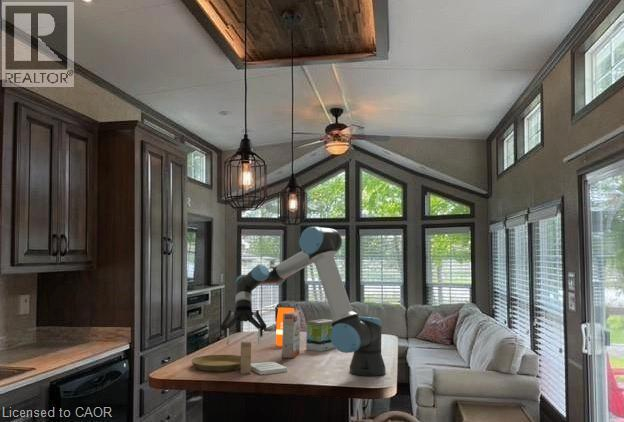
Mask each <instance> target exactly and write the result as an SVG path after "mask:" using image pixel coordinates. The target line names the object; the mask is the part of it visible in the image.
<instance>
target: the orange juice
mask: <svg viewBox="0 0 624 422" xmlns="http://www.w3.org/2000/svg"><path fill="white" fill-rule="evenodd" d="M289 311H295V308H294V307H278V310H277V316H276V331H275V333H276V335H275V338H276V339H275V340H276V341H275V345H276V346H279V347H282V339H283V314H285V313H287V312H289Z"/></svg>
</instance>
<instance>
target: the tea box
mask: <svg viewBox="0 0 624 422" xmlns="http://www.w3.org/2000/svg"><path fill="white" fill-rule="evenodd" d="M331 322H332V319H326V318H322V319H321V318H320V319H315V320H314V319H313V320H307V321H306V339H305V341H306V342H305V349H306V350H309V351H313V352H323V351H326V350H327V351H328V350H333V349H336V348H335V347H334V346H333V344H332V342H331V338H330V333H331V330H332V325H331Z"/></svg>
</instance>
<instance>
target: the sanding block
mask: <svg viewBox="0 0 624 422" xmlns="http://www.w3.org/2000/svg"><path fill="white" fill-rule="evenodd" d="M240 356H241V361H240V368H239V370H240V371H239V372H240V375H251V373H252V372H251V371H252V370H251V364H252V343H251V341H240Z"/></svg>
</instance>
